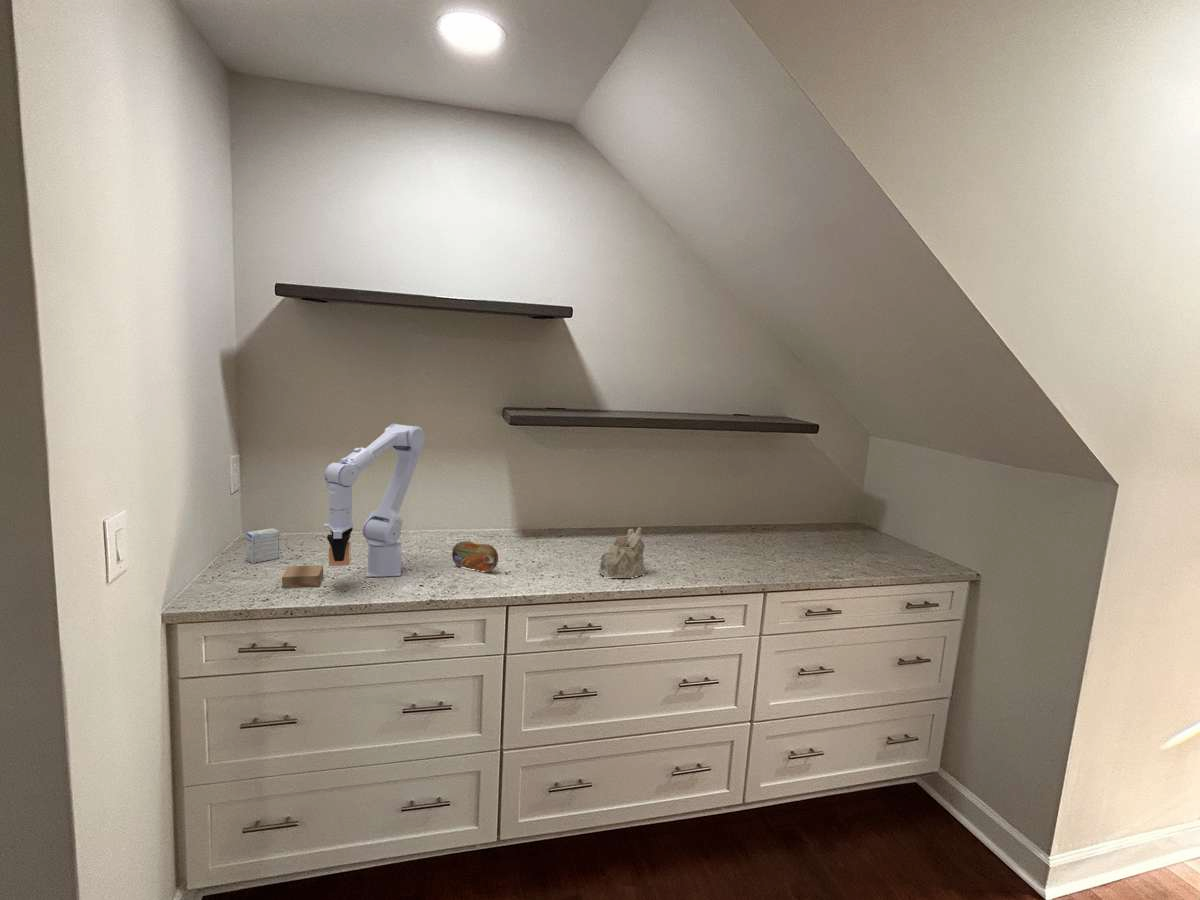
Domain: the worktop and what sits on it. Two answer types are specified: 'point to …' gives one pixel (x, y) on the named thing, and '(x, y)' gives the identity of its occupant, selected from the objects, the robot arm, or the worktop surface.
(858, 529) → the worktop surface
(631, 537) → the ceramic cottage
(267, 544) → the medicine box
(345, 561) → the terracotta cube
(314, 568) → the walnut block
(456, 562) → the tin
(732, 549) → the worktop surface
